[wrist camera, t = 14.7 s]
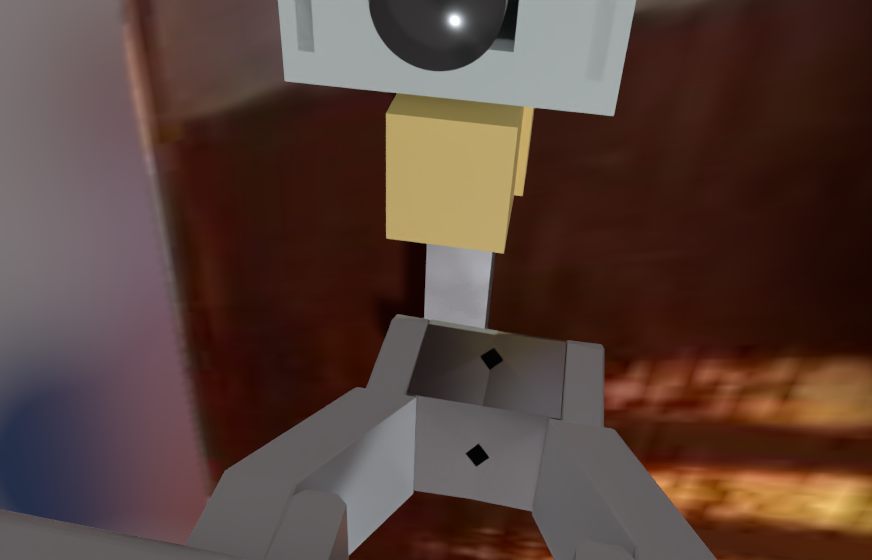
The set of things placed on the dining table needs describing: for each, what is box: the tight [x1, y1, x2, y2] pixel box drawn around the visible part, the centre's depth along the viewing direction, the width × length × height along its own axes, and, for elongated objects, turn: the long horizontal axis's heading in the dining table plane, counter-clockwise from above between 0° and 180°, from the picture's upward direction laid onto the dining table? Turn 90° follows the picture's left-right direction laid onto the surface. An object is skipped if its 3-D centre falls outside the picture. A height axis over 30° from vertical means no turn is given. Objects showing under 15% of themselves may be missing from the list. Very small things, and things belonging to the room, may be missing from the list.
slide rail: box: [424, 244, 495, 329], centre depth 35 cm, size 22×5×4 cm, turn 178°
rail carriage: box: [386, 93, 534, 253], centre depth 29 cm, size 5×5×7 cm
